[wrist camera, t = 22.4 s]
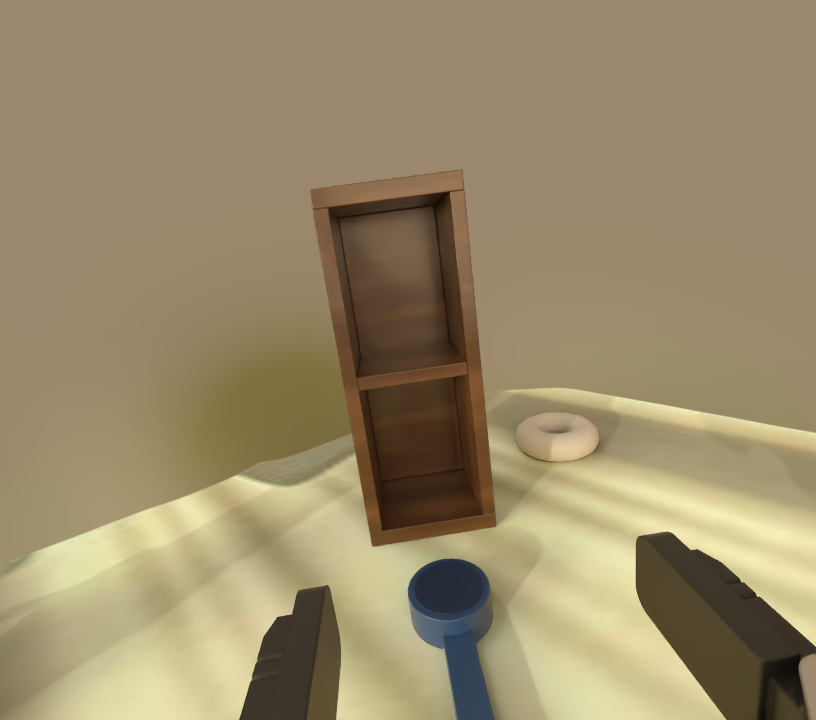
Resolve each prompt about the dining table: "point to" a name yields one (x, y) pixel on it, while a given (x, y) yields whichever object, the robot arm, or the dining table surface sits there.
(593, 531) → the dining table surface
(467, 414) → the shelf
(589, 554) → the dining table surface
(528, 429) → the donut
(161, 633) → the dining table surface
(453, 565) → the blue elongated piece
